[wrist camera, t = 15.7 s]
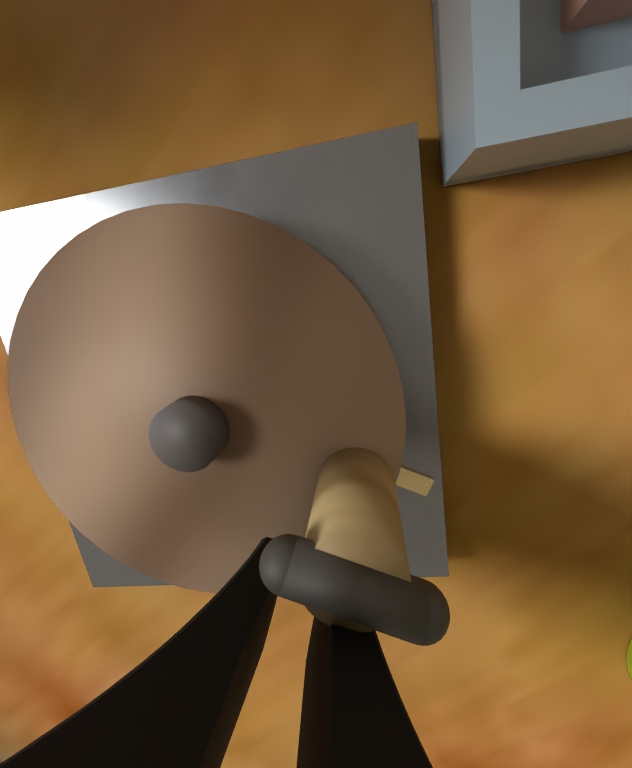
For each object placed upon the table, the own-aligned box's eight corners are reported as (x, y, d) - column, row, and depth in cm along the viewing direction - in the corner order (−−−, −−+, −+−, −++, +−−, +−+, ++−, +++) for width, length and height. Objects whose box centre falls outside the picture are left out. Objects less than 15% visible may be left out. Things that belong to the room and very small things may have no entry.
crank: (31, 501, 13) (-180, 643, 8) (60, 156, 10) (-266, 22, 5) (351, 614, 12) (344, 836, 7) (492, 297, 9) (646, 315, 4)
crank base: (-9, 226, 12) (-45, 220, 11) (411, 137, 10) (417, 120, 9) (110, 567, 15) (91, 589, 14) (442, 554, 13) (449, 578, 12)
